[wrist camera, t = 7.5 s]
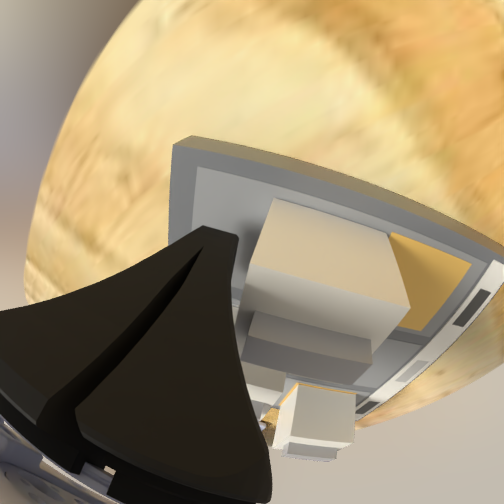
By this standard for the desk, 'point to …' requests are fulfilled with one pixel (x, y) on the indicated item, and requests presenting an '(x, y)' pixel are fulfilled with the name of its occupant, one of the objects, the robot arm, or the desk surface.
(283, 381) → the tab
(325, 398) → the tab
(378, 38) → the desk surface
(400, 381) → the switch panel
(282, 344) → the tab
